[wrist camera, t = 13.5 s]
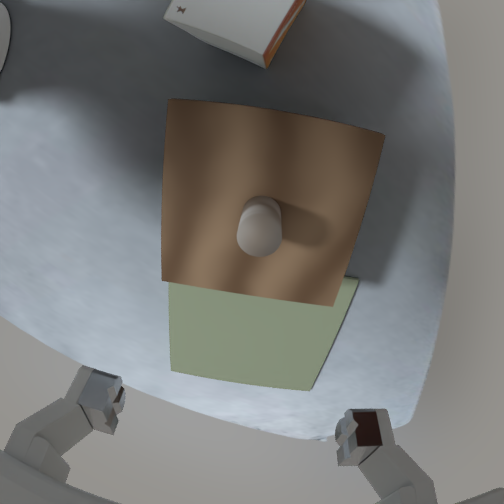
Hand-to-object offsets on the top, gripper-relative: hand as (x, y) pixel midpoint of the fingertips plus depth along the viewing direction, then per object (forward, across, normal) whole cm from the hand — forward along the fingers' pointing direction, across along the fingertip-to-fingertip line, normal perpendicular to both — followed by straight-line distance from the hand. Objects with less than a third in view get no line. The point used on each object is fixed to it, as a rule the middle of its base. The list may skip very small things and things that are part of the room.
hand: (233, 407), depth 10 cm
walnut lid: (+18, 0, 0) cm, 18 cm away
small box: (+25, +3, -16) cm, 29 cm away
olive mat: (+24, -2, +20) cm, 32 cm away
